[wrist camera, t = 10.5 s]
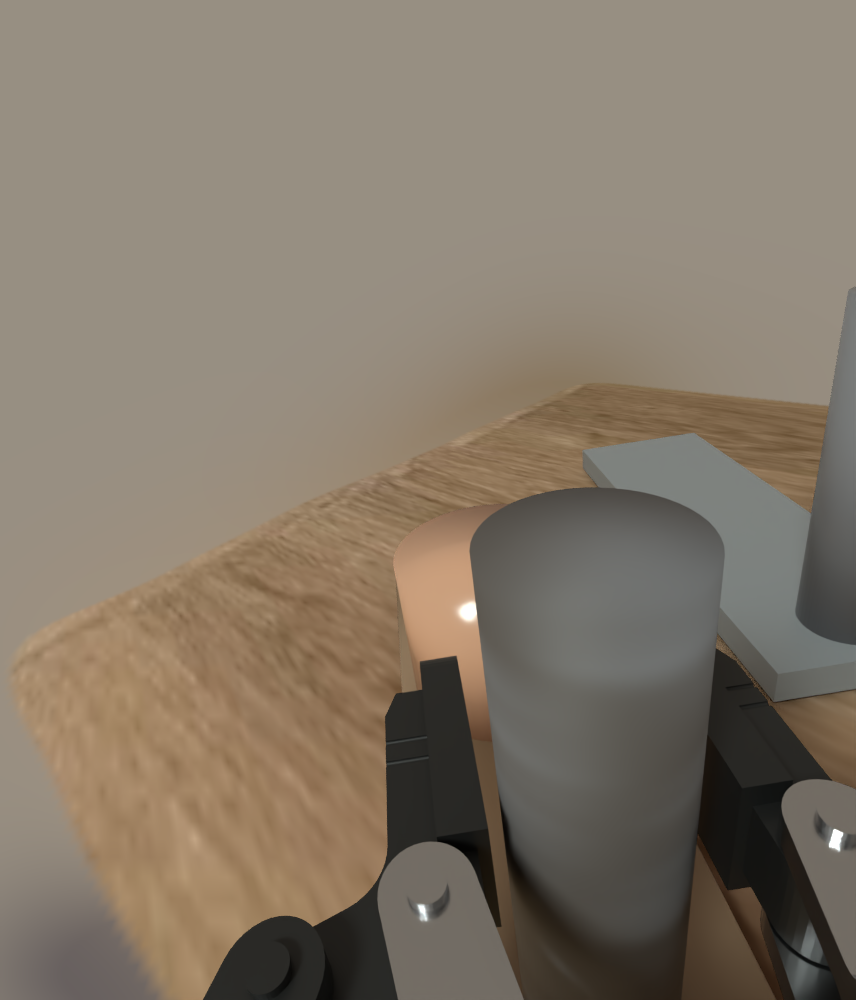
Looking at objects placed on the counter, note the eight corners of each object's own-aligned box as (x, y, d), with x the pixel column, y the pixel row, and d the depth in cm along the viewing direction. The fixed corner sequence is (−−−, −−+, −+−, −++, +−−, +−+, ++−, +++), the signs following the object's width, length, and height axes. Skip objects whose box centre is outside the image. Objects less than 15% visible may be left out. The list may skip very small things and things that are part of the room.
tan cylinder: (562, 607, 23) (558, 493, 21) (618, 725, 18) (619, 588, 16) (411, 631, 23) (390, 519, 21) (422, 756, 18) (396, 624, 16)
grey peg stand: (692, 450, 38) (706, 241, 32) (983, 668, 20) (1122, 275, 14) (583, 467, 38) (578, 260, 32) (773, 702, 20) (834, 319, 14)
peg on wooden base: (544, 564, 28) (529, 297, 23) (834, 1164, 10) (1064, 592, 5) (399, 586, 28) (350, 324, 23) (439, 1232, 10) (259, 720, 5)
